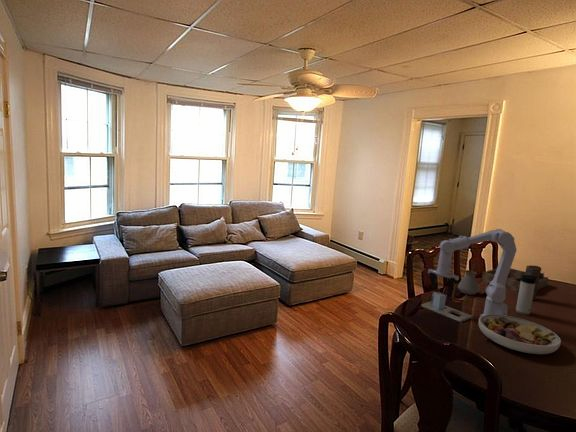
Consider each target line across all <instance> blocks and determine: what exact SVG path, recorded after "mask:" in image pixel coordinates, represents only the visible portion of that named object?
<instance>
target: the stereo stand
mask: <svg viewBox="0 0 576 432" xmlns="http://www.w3.org/2000/svg"><path fill="white" fill-rule="evenodd" d="M496 270H497V268H494V269H493V268H492V269H490V270H486V271H483V272H482V276H481V277H482V278H481V282H484V283H488V284H490V282H491V281H492V280H493V279H494V276H495V273H496ZM523 275H525V271H523V270H520V269H516V268H512V267H511V268H510V271H509V274H508V277H511V278H508V277H507V280H506V283H505V287H506V290H511V291H514V292H518V293H519V288H520V283H521V282H520V281H516V279H518V278H522V276H523ZM512 278H515V279H512ZM548 281H549V277H548V276H547V277H546V276H544V277H543V278H542V279H539V283H538V288H537V291H539V290H541V289H543V288H546V287H547V286H548Z"/></svg>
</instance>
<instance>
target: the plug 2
mask: <svg viewBox="0 0 576 432" xmlns="http://www.w3.org/2000/svg"><path fill="white" fill-rule="evenodd" d="M446 301H447V294H445V293H442V292H438V293H434V299H433V306H432V307H434V308H437V309H439V310H443V309H444V308H445V306H446Z"/></svg>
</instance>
